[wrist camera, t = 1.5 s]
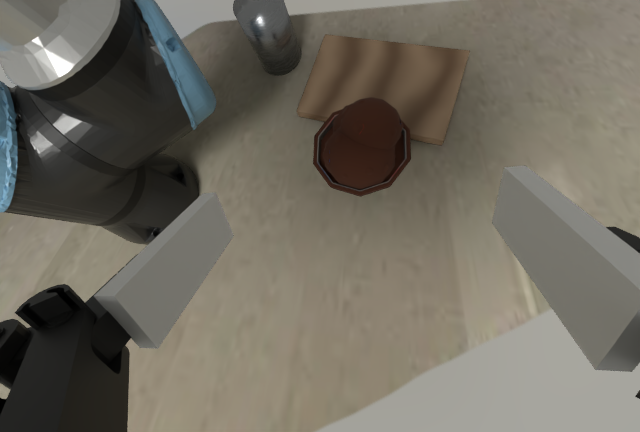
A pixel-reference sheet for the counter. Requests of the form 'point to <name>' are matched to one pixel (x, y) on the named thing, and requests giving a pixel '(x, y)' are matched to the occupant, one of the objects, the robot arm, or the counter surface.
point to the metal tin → (269, 33)
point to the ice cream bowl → (362, 147)
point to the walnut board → (387, 82)
